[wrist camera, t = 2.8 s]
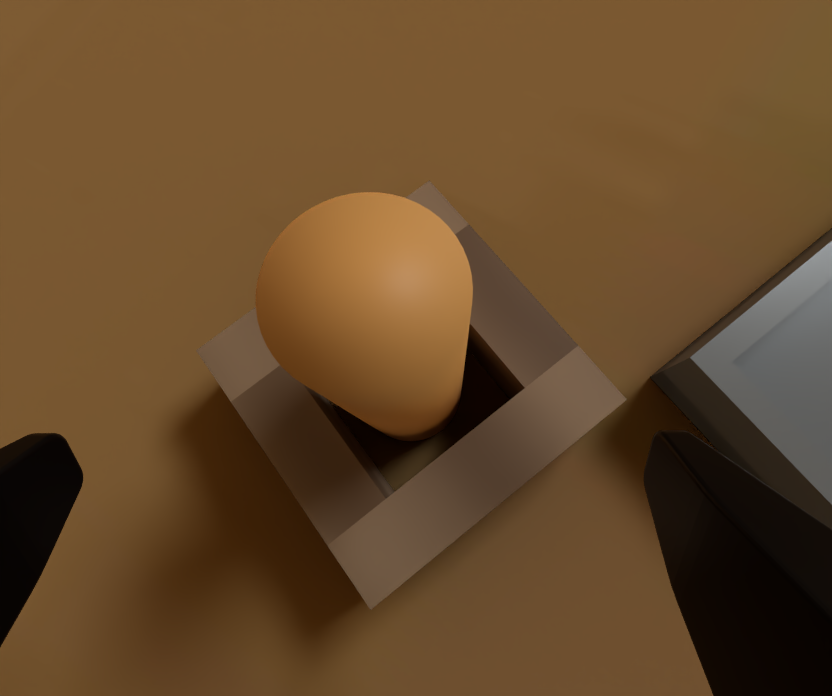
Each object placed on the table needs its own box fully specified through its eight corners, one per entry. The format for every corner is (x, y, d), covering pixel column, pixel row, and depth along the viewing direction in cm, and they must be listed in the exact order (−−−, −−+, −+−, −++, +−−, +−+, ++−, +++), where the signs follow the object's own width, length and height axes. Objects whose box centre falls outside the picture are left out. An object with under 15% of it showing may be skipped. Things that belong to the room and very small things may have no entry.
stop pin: (401, 462, 17) (337, 446, 8) (341, 382, 18) (215, 275, 8) (481, 398, 18) (519, 305, 8) (419, 323, 18) (385, 154, 9)
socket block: (385, 585, 16) (370, 610, 13) (236, 370, 18) (195, 350, 16) (597, 412, 17) (626, 399, 14) (432, 224, 19) (429, 180, 16)
